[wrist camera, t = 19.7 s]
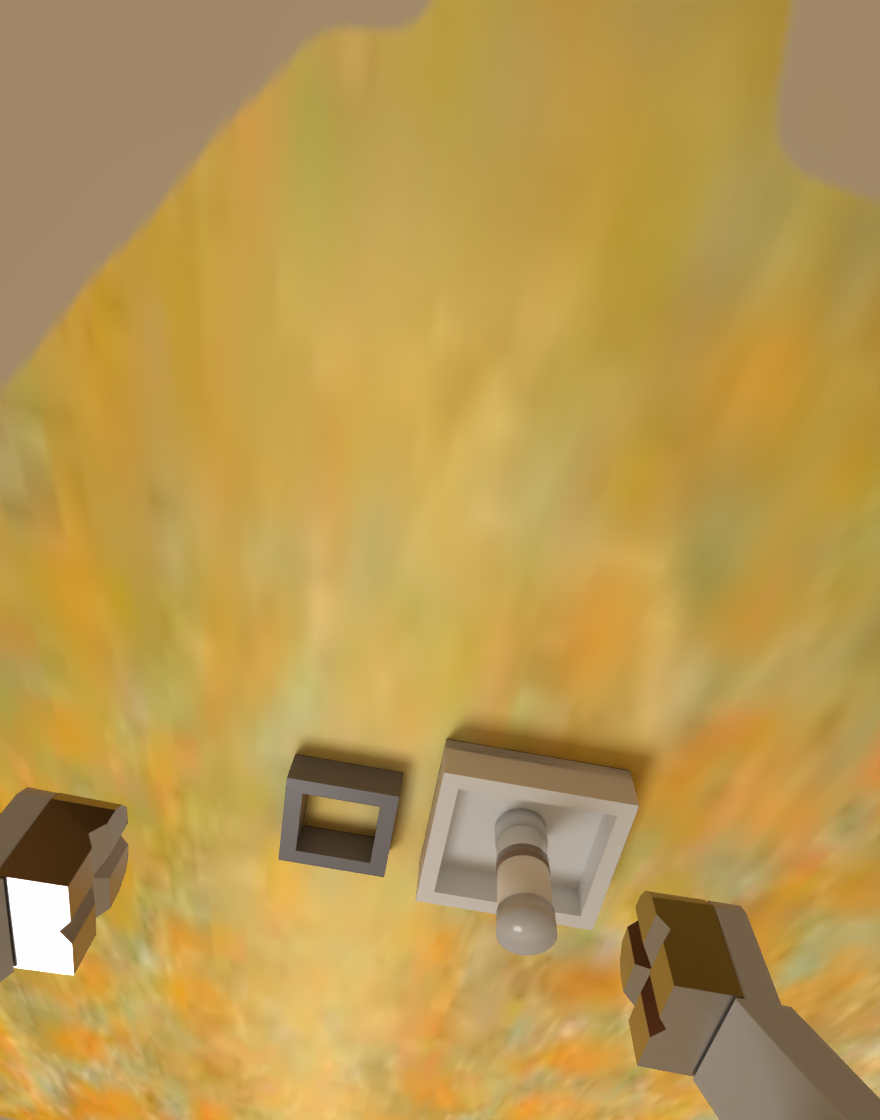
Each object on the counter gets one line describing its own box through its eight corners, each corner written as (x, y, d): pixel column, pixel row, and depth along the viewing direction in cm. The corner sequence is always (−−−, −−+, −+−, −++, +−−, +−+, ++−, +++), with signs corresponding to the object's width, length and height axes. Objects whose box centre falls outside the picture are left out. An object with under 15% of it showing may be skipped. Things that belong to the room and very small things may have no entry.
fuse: (550, 811, 54) (561, 916, 46) (542, 850, 55) (552, 958, 47) (498, 805, 54) (500, 909, 46) (491, 844, 56) (492, 951, 47)
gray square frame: (402, 772, 54) (399, 796, 52) (388, 851, 58) (384, 877, 56) (295, 754, 54) (287, 777, 52) (286, 834, 58) (278, 859, 55)
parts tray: (629, 770, 53) (639, 805, 50) (586, 891, 58) (592, 930, 55) (446, 739, 53) (444, 772, 50) (419, 863, 58) (415, 900, 55)
